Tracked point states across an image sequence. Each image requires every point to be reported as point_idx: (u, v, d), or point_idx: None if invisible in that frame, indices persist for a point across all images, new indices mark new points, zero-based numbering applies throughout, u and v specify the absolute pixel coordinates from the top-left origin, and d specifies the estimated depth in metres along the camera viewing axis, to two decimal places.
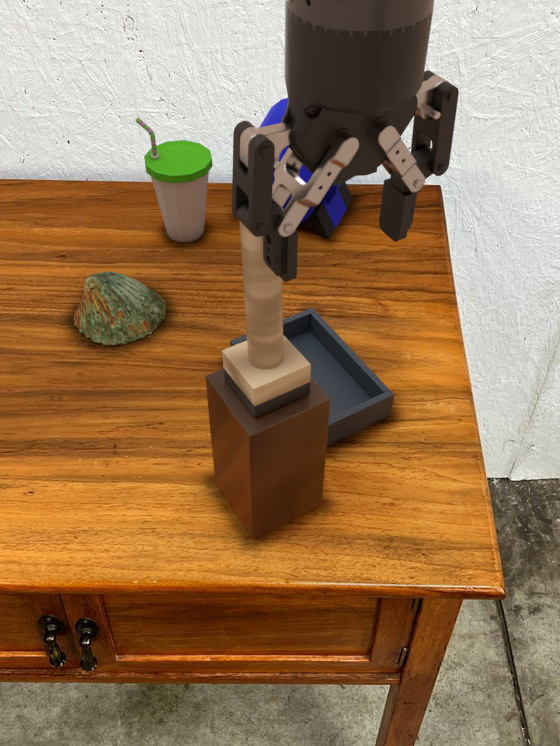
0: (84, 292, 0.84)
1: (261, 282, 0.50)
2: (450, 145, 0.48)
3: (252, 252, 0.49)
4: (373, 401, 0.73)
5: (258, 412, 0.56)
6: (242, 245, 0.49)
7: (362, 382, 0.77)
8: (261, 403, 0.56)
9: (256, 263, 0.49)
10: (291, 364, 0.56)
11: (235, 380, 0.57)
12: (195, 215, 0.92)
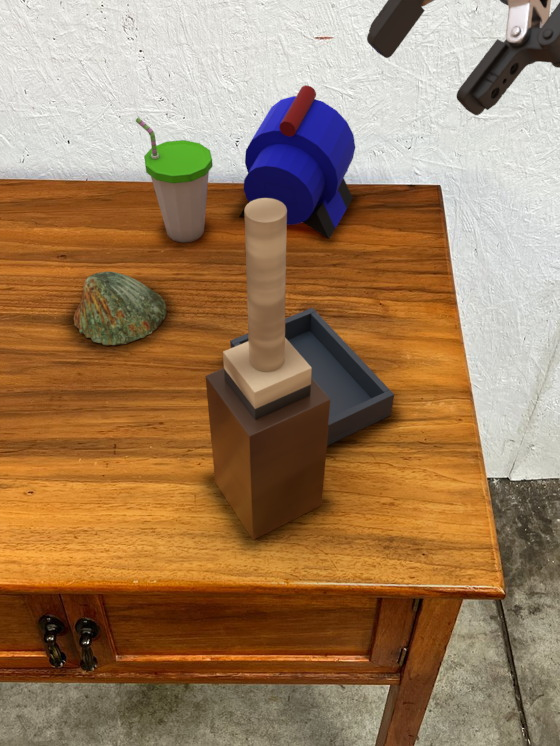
0: (84, 292, 0.84)
1: (265, 288, 0.50)
2: None
3: (257, 260, 0.49)
4: (373, 401, 0.73)
5: (258, 414, 0.56)
6: (247, 252, 0.49)
7: (362, 382, 0.77)
8: (261, 406, 0.56)
9: (261, 270, 0.49)
10: (292, 367, 0.56)
11: (235, 381, 0.57)
12: (195, 215, 0.92)
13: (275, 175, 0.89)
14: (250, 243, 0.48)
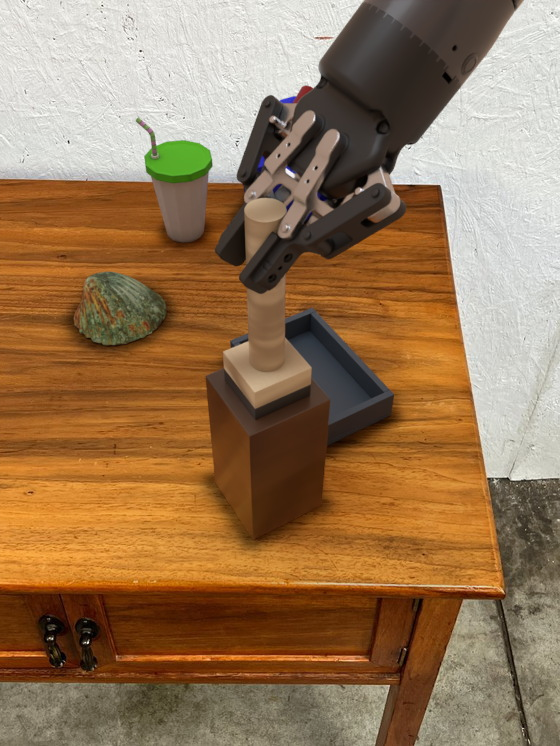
0: (84, 292, 0.84)
1: None
2: (328, 230, 0.44)
3: None
4: (373, 401, 0.73)
5: (258, 414, 0.56)
6: (247, 251, 0.49)
7: (362, 382, 0.77)
8: (261, 406, 0.56)
9: None
10: (292, 367, 0.56)
11: (235, 381, 0.57)
12: (195, 215, 0.92)
13: None
14: (250, 243, 0.48)
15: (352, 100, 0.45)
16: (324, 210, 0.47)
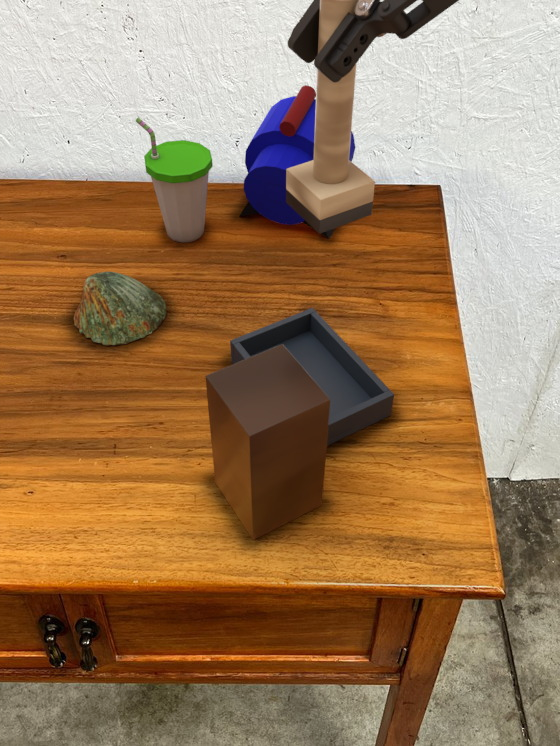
0: (84, 292, 0.84)
1: None
2: None
3: None
4: (373, 401, 0.73)
5: (322, 228, 0.57)
6: (320, 40, 0.50)
7: (362, 382, 0.77)
8: (326, 218, 0.57)
9: None
10: (356, 180, 0.57)
11: (299, 198, 0.58)
12: (195, 215, 0.92)
13: (275, 175, 0.89)
14: (325, 28, 0.49)
15: None
16: None
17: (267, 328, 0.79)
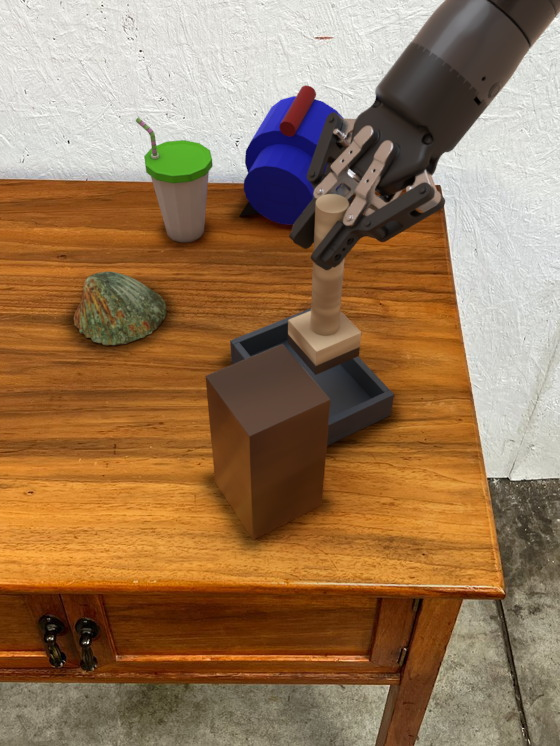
0: (84, 292, 0.84)
1: None
2: (385, 219, 0.57)
3: None
4: (373, 401, 0.73)
5: (318, 370, 0.69)
6: (316, 236, 0.62)
7: (362, 382, 0.77)
8: (321, 363, 0.69)
9: None
10: (346, 332, 0.69)
11: (298, 344, 0.70)
12: (195, 215, 0.92)
13: (275, 175, 0.89)
14: (319, 229, 0.61)
15: (402, 117, 0.58)
16: (379, 203, 0.59)
17: (267, 328, 0.79)
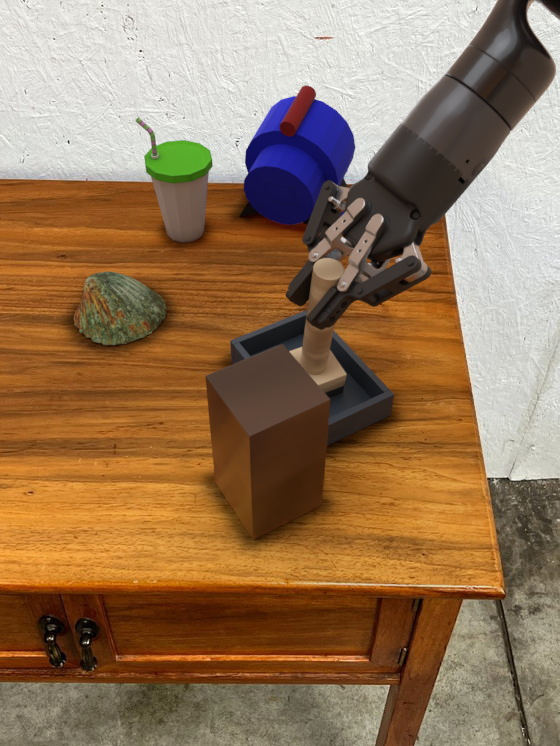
0: (84, 292, 0.84)
1: None
2: (375, 288, 0.62)
3: None
4: (373, 401, 0.73)
5: None
6: (311, 295, 0.66)
7: (362, 382, 0.77)
8: None
9: None
10: (332, 372, 0.74)
11: None
12: (195, 215, 0.92)
13: (275, 175, 0.89)
14: (314, 290, 0.66)
15: (392, 192, 0.62)
16: (370, 270, 0.64)
17: (267, 328, 0.79)
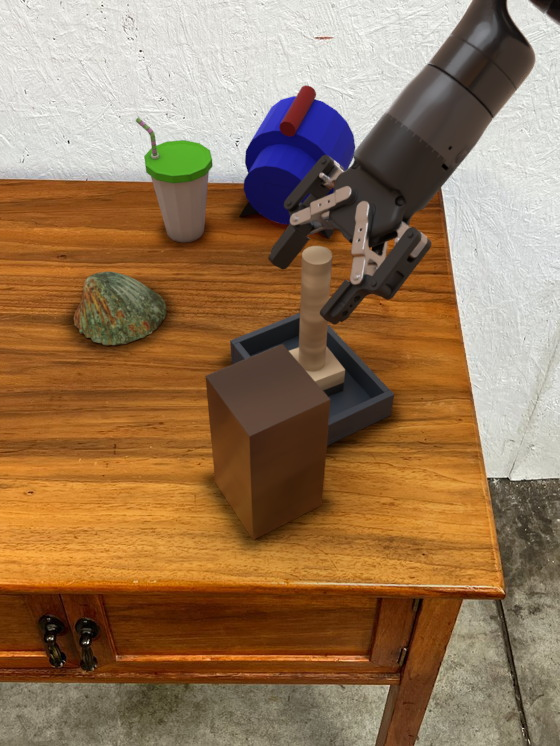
0: (84, 292, 0.84)
1: (314, 310, 0.69)
2: (388, 272, 0.61)
3: (309, 290, 0.67)
4: (373, 401, 0.73)
5: None
6: (302, 283, 0.68)
7: (362, 382, 0.77)
8: None
9: (311, 297, 0.68)
10: (331, 368, 0.75)
11: None
12: (195, 215, 0.92)
13: (275, 175, 0.89)
14: (305, 278, 0.67)
15: (378, 180, 0.64)
16: (375, 257, 0.64)
17: (267, 328, 0.79)
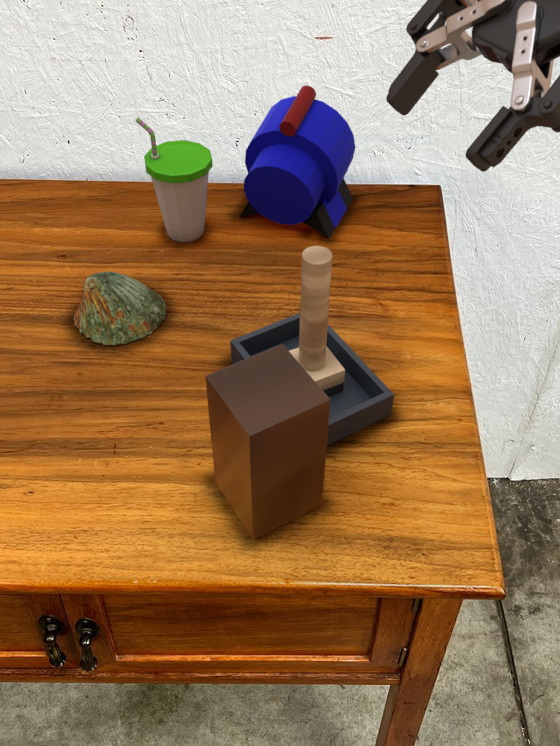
0: (84, 292, 0.84)
1: (314, 310, 0.69)
2: None
3: (309, 290, 0.67)
4: (373, 401, 0.73)
5: None
6: (302, 283, 0.68)
7: (362, 382, 0.77)
8: None
9: (311, 297, 0.68)
10: (331, 368, 0.75)
11: None
12: (195, 215, 0.92)
13: (275, 175, 0.89)
14: (305, 278, 0.67)
15: None
16: (541, 78, 0.49)
17: (267, 328, 0.79)
